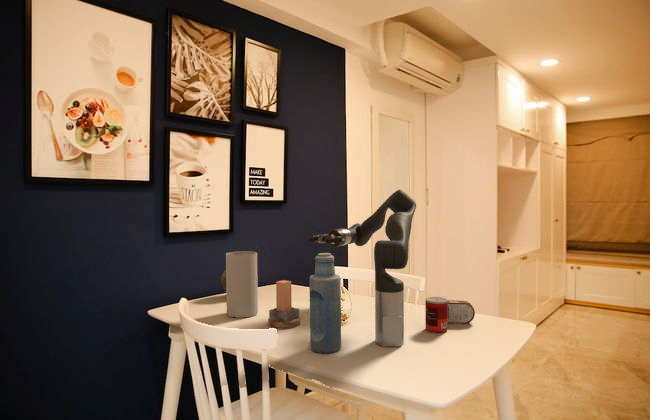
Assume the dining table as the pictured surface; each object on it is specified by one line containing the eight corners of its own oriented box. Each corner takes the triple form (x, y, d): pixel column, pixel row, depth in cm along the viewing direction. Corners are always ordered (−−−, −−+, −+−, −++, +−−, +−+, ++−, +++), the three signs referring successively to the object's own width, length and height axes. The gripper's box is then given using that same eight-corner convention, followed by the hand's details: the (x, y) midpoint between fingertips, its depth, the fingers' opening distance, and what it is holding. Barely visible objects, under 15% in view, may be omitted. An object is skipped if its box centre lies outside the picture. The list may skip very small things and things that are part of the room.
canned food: (447, 327, 153) (447, 297, 153) (447, 334, 145) (447, 302, 145) (425, 325, 155) (425, 296, 155) (425, 332, 147) (425, 301, 147)
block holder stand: (306, 322, 160) (306, 308, 160) (286, 330, 150) (286, 315, 150) (282, 317, 167) (282, 303, 167) (261, 325, 157) (261, 310, 157)
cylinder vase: (235, 320, 164) (234, 256, 163) (221, 313, 173) (220, 253, 173) (263, 314, 172) (262, 253, 171) (248, 308, 181) (247, 250, 180)
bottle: (347, 348, 132) (347, 253, 131) (325, 356, 125) (324, 256, 125) (326, 341, 139) (325, 250, 138) (303, 348, 132) (303, 253, 131)
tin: (473, 322, 159) (473, 300, 159) (475, 324, 156) (475, 302, 156) (433, 321, 161) (433, 299, 161) (434, 323, 158) (434, 301, 157)
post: (291, 318, 159) (291, 281, 159) (284, 320, 156) (284, 283, 155) (283, 316, 161) (283, 280, 161) (276, 319, 158) (276, 281, 158)
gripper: (326, 228, 188) (303, 230, 175) (353, 229, 180) (331, 232, 167) (326, 245, 188) (303, 248, 175) (353, 247, 180) (331, 251, 167)
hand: (317, 240), depth 171 cm, fingers open, 8 cm apart
